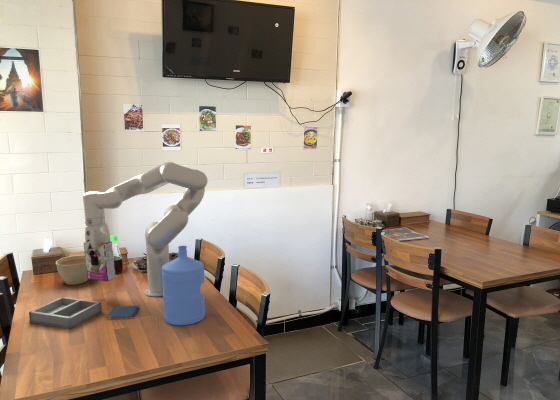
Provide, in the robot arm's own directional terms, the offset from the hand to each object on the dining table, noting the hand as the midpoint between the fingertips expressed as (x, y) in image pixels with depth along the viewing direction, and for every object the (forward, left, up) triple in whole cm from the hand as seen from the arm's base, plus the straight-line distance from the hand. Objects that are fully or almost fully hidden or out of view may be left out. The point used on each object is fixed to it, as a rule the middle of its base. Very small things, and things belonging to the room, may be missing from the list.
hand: (99, 262), depth 180 cm
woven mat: (-19, +11, -17) cm, 27 cm away
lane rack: (0, +19, -16) cm, 25 cm away
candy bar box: (0, 0, -7) cm, 7 cm away
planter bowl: (+27, -15, -16) cm, 35 cm away
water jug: (-44, +6, -16) cm, 47 cm away
